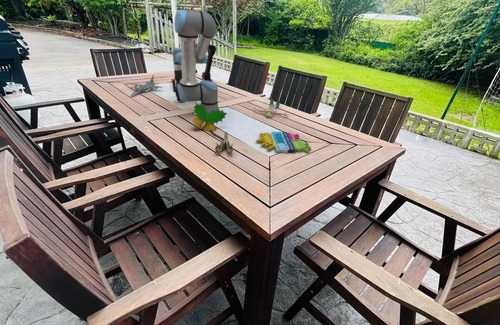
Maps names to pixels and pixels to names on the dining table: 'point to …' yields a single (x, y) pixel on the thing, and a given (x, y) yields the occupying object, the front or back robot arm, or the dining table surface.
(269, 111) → the toy
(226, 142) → the jawbone
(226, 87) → the dining table surface
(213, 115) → the ornament
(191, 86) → the front robot arm
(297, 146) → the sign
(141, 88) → the airplane
